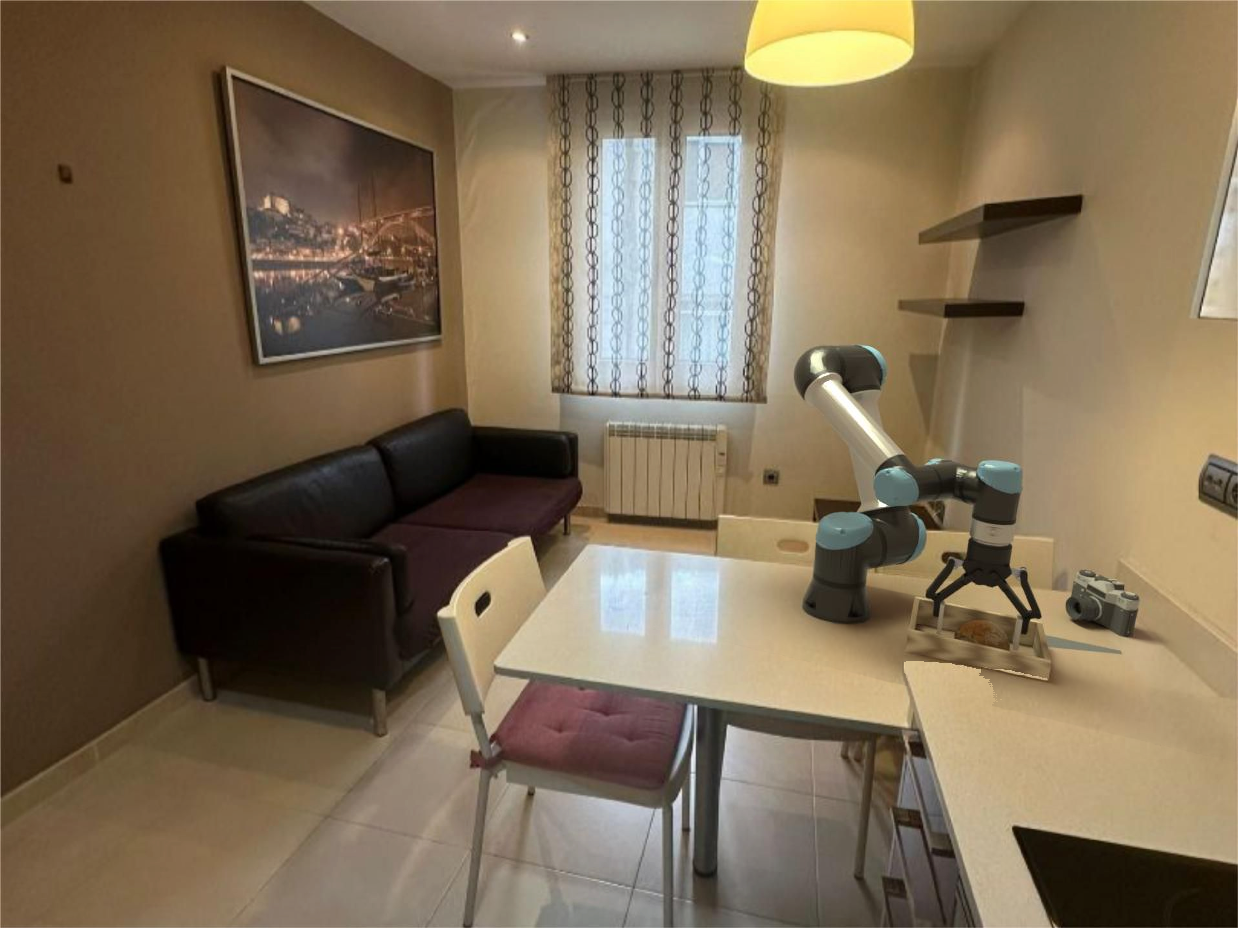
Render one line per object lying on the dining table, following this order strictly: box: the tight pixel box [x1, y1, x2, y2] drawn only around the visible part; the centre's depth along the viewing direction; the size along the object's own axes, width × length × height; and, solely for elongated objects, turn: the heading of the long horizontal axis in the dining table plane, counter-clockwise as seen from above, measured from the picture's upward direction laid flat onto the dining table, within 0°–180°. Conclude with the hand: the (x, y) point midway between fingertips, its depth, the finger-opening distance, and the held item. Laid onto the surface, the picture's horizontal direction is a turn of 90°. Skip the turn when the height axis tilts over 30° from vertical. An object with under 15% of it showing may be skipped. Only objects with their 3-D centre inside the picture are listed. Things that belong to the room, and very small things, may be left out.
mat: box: [1045, 634, 1123, 655], centre depth 129 cm, size 14×14×1 cm
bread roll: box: [953, 620, 1011, 651], centre depth 130 cm, size 10×10×8 cm
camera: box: [1065, 569, 1141, 637], centre depth 145 cm, size 16×10×10 cm, turn 3°
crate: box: [905, 595, 1053, 680], centre depth 130 cm, size 24×18×6 cm
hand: (976, 639), depth 130 cm, fingers open, 13 cm apart
